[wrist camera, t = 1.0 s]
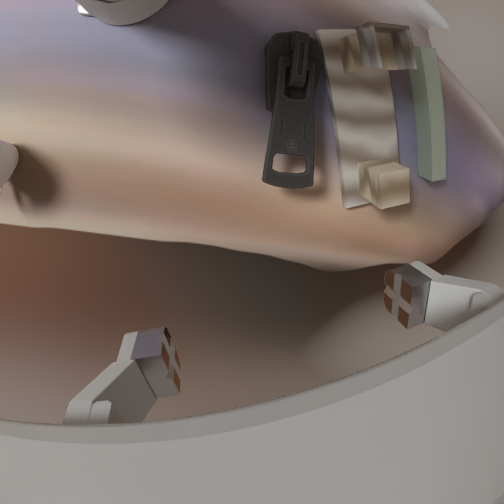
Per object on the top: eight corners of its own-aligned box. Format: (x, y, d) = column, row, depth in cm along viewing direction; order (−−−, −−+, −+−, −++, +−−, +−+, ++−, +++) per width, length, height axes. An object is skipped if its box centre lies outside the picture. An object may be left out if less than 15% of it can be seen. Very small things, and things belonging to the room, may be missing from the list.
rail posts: (314, 31, 37) (348, 11, 25) (376, 31, 37) (420, 20, 26) (342, 205, 52) (377, 235, 41) (395, 193, 53) (436, 219, 41)
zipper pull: (258, 186, 42) (275, 20, 30) (252, 176, 48) (266, 30, 36) (316, 191, 43) (336, 32, 32) (303, 180, 49) (320, 40, 38)
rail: (403, 48, 39) (419, 46, 34) (419, 50, 39) (435, 48, 35) (417, 174, 52) (432, 181, 47) (430, 172, 52) (445, 179, 47)
